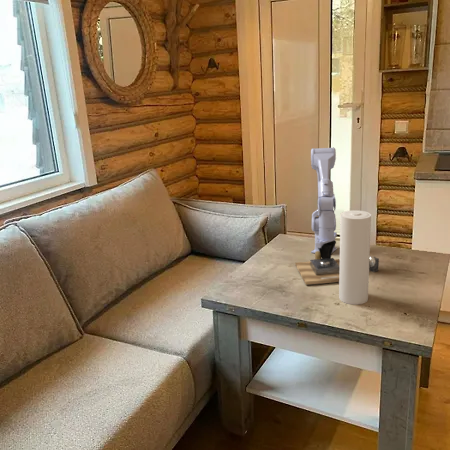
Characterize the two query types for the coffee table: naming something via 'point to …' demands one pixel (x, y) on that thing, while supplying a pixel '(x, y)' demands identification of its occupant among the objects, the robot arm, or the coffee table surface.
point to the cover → (324, 266)
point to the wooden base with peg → (310, 276)
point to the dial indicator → (373, 264)
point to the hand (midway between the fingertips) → (326, 259)
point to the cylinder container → (354, 256)
